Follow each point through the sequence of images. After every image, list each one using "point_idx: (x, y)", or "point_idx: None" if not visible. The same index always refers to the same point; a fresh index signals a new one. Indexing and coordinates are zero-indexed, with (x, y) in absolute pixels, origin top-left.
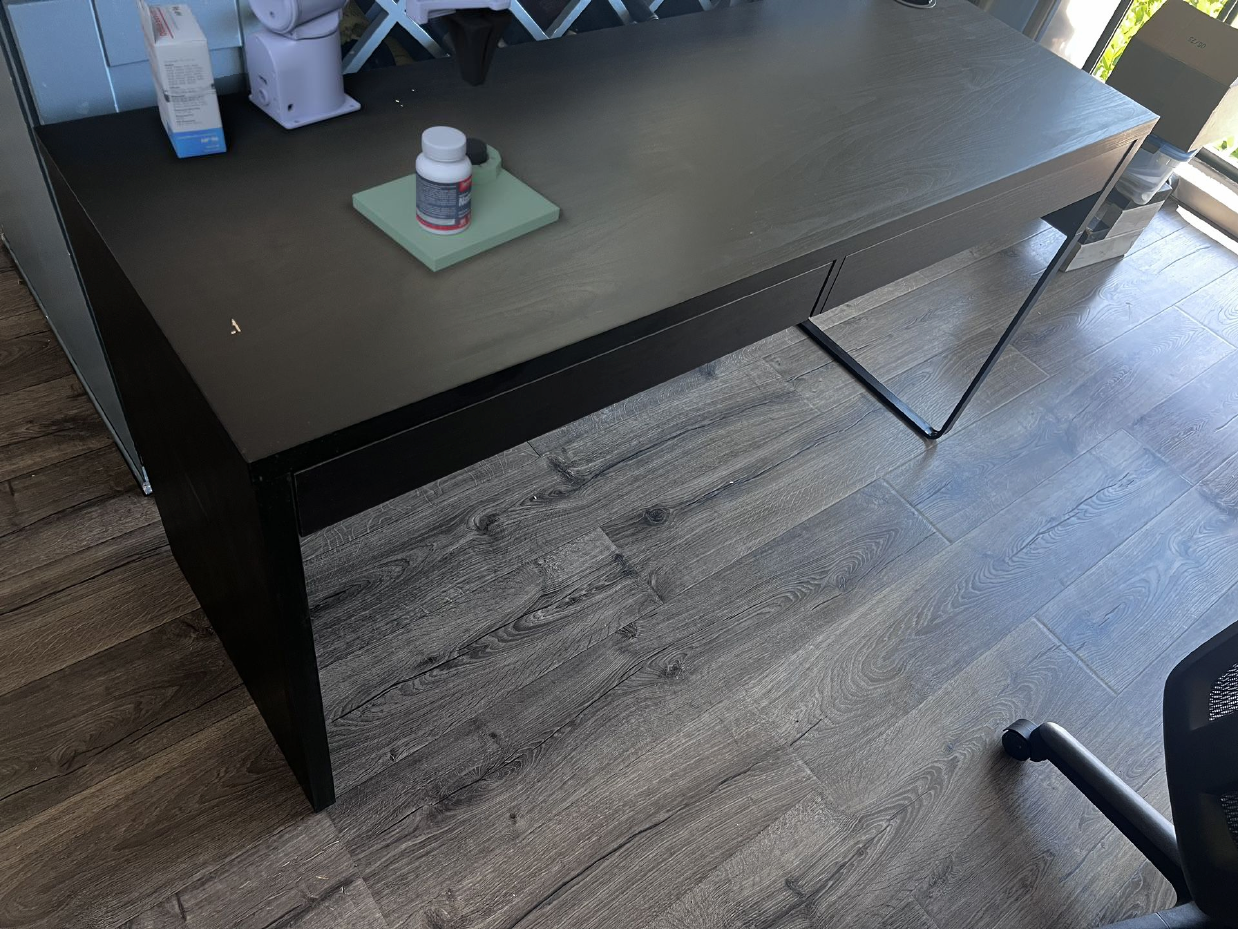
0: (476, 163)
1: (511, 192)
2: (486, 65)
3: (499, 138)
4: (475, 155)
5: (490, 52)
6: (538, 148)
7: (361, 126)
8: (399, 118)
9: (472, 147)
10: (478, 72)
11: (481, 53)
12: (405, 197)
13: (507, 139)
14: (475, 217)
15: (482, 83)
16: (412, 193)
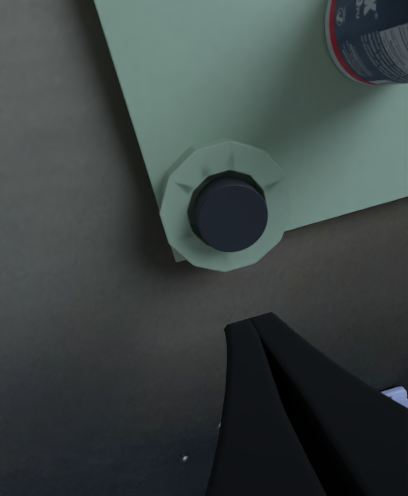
0: (232, 178)
1: (176, 82)
2: (253, 368)
3: (97, 320)
4: (241, 182)
5: (258, 422)
6: (26, 274)
7: None
8: None
9: (238, 209)
10: (288, 340)
11: (330, 410)
12: (393, 140)
13: (82, 315)
14: (308, 3)
15: (236, 324)
16: (373, 151)
